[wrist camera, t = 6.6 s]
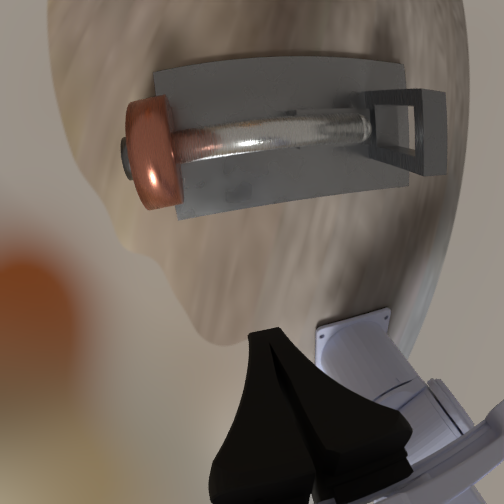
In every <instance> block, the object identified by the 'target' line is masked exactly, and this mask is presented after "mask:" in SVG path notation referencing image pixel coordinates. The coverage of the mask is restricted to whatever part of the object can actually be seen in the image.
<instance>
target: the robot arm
mask: <svg viewBox="0 0 504 504" xmlns="http://www.w3.org/2000/svg"><path fill="white" fill-rule="evenodd" d="M390 315H391V310H390V309H389V308H388V307H387V308H383V309H380V310H377V311H374V312H370V313H367V314H363V315H360V316H357V317H353V318H350V319H346V320H342V321H339V322H335V323H331V324H327V325H324V326H320V327H318V328H317V329H316V346H315V365H314V364H313V363H312V362H311V361H310V360H309V359H308V358H307V357H306V356H305V355H304V354H303V353H302V352H301V351H300V350H299V349H298V348H297V347H296V346H295V345H294V344H293V343H292V342H291V341H290V340H289V338H288V337H287V336H286V335H285V334H284V332H283V331H282V330H281V328H279V327H276V328H271V329H267V330H262V331H257V332H252V333H249V335H248V341H249V361H248V369H247V375H246V380H245V386H244V390H243V394H242V397H241V401H240V404H239V407H238V410H237V413H236V416H235V419H234V421H233V424H232V426H231V428H230V430H229V432H228V434H227V437H226V439H225V441H224V443H223V445H222V447H221V448H220V450H219V452H218V453H217V455H216V457H215V459H214V460H213V463H212V467H211V471H210V476H209V496H210V500H211V503H213V504H309V497H310V494H312V498H313V501H314V504H367V503H370V502H372V501H373V502H374V504H486V502H485V501H484V499H483V498H482V496H481V495H480V493H479V492H478V490H477V489H476V487H475V486H474V484H475V483H477V482H478V481H479V480H481V479H482V478H483V477H484V476H486V475H487V474H488V473H489V472H491V471H492V470H493V469H494V468H495V467H496V466H498V465H499V464H500V463H501V462H502V461H503V460H504V400H503V401H501V402H500V403H499V404H498V405H496V406H495V407H494V408H493V409H492V410H491V411H490V412H489V414H488V415H487V416H486V418H485V420H483V421H482V422H480V423H479V424H478V425H476V426H475V427H474V423H473V421H472V420H471V419H470V417H469V416H468V414H467V413H466V412H465V410H464V409H463V407H462V406H461V405H460V403H459V402H458V401H457V400H456V398H455V397H454V395H453V394H452V393H451V392H450V390H449V389H448V388H447V386H446V385H445V384H444V383H443V381H442V380H441V379H435V380H434V379H433V378H431V379H430V380H429V381H428V382H427V384H428V385H429V387H428V385H427V384H426V383H425V382H424V381H423V380H422V379H421V378H420V376H419V375H418V374H417V373H416V371H415V370H414V369H413V367H412V366H411V365H410V363H409V362H408V361H407V359H406V358H405V357H404V355H403V354H402V353H401V351H400V350H399V349H398V348H397V346H396V345H395V344H394V342H393V341H392V340H391V339H390V337H389V336H388V335H387V330H388V325H389V320H390ZM385 316H386V317H385ZM322 334H323V335H322ZM320 335H322V336H320Z"/></svg>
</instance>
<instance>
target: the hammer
mask: <svg viewBox="0 0 504 504" xmlns="http://www.w3.org/2000/svg"><path fill="white" fill-rule="evenodd" d="M125 131H126V137H124V138H122V140H121V158H122V163H123V168H124V171H125V173H126V176H127V178H128V179H129V180H134V184H135V187H136V190H137V192H138V195H139V197H140V199H141V201H142V203H143V205H144V206H145V208H146V209H147V210H154V209H159V208H164V207H169V206H174V205H179V204H183V202H184V190H183V179H182V171H181V164H184V163H189V162H194V161H200V160H205V159H211V158H217V157H223V156H230V155H237V154H243V153H251V152H258V151H266V150H274V149H283V148H292V147H303V146H314V145H326V144H341V143H359V142H363V141H365V140H367V139H368V138H369V136H370V135H371V131H372V127H371V123H370V121H369V120H368V119H367V118H366V117H365V116H364V115H362V114H358V113H338V114H311V115H294V116H281V117H270V118H260V119H251V120H243V121H235V122H228V123H221V124H214V125H208V126H202V127H196V128H190V129H185V130H180V131H175V127H174V122H173V117H172V112H171V108H170V104H169V101H168V98H167V95H166V94H164V95H159V96H154V97H150V98H146V99H141V100H137V101H133V102H130V103H129V105H128V107H127V111H126V122H125Z"/></svg>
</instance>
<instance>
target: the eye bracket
mask: <svg viewBox="0 0 504 504" xmlns="http://www.w3.org/2000/svg"><path fill="white" fill-rule="evenodd" d="M153 76H154V84H155V92H156V96H159V95H164V94H166V95H167V98H168V101H169V104H170V108H171V112H172V117H173V122H174V127H175V131H180V130H185V129H190V128H196V127H202V126H208V125H214V124H221V123H228V122H235V121H243V120H251V119H260V118H270V117H281V116H294V115H311V114H338V113H358V114H362V115H364V116H365V117H366V118H367V119H368V120H369V121H370V123H371V127H372V131H371V135H370V136H369V138H368V139H367V140H365V141H363V142H359V143H341V144H326V145H314V146H303V147H292V148H283V149H274V150H266V151H258V152H251V153H243V154H237V155H230V156H223V157H217V158H211V159H205V160H200V161H194V162H189V163H184V164H181V171H182V179H183V190H184V202H183V204H179V205H175V208H176V212H177V217H178V220H183V219H189V218H194V217H199V216H205V215H210V214H216V213H221V212H227V211H233V210H238V209H244V208H250V207H256V206H263V205H269V204H275V203H282V202H288V201H295V200H301V199H308V198H315V197H322V196H330V195H337V194H345V193H352V192H360V191H369V190H377V189H386V188H395V187H404V186H409V171H410V172H413V173H416V174H419V175H421V176H435V175H446V172H447V111H446V95H445V92H440V91H434V90H427V89H406V81H405V72H404V64H398V63H391V62H383V61H375V60H366V59H355V58H342V57H320V56H281V57H259V58H245V59H234V60H224V61H216V62H208V63H201V64H195V65H189V66H183V67H177V68H172V69H167V70H162V71H157V72H153ZM408 106H414V117H415V150H413V149H409V122H408Z"/></svg>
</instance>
